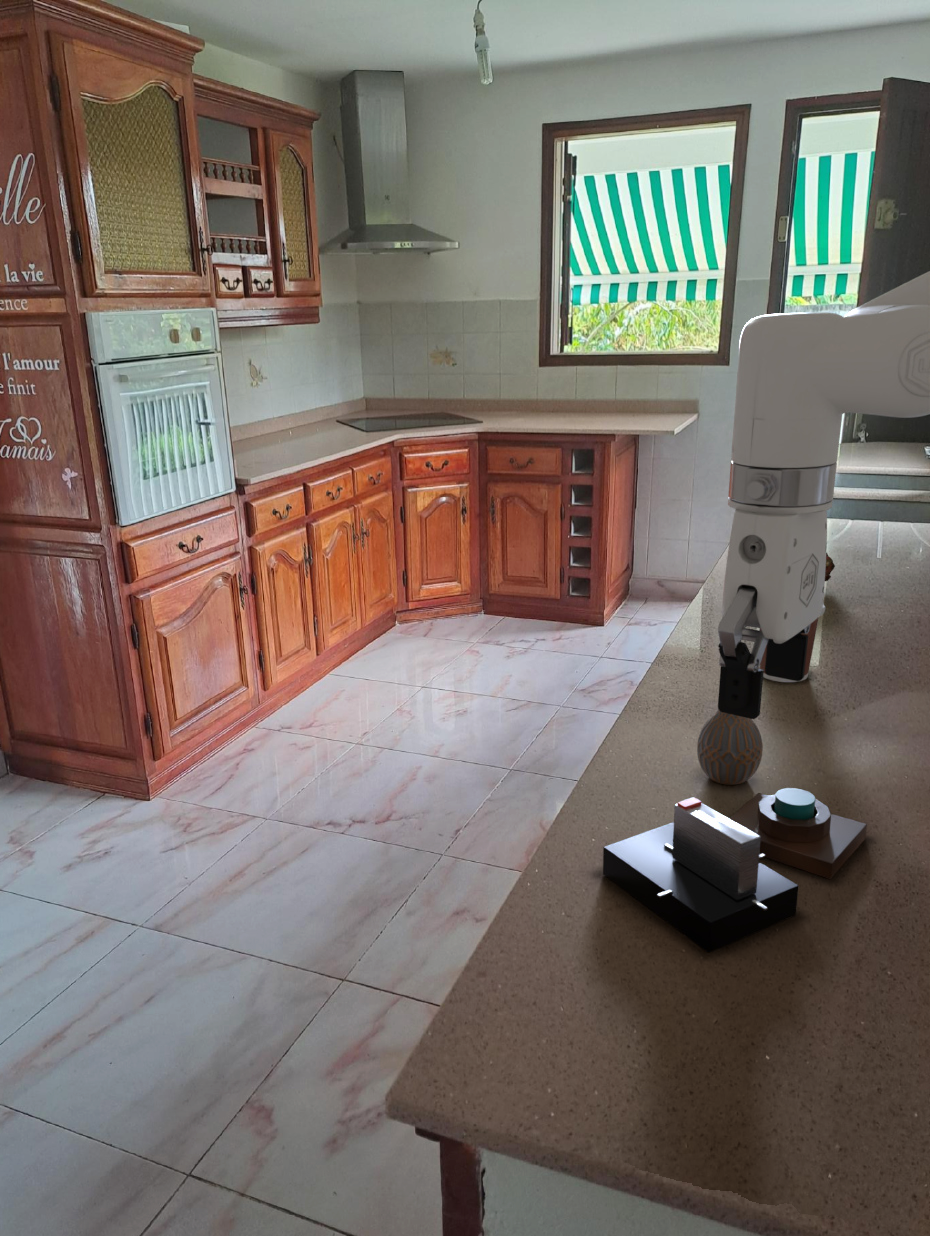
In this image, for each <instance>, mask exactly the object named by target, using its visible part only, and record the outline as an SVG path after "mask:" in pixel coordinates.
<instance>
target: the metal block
mask: <svg viewBox="0 0 930 1236" xmlns="http://www.w3.org/2000/svg"><path fill="white" fill-rule="evenodd" d="M729 818H730V817H728V816H726V815H723V814H722V813H720V812H718V811H717V810H715V809H713V808H711V807H710V806H708V805H706V804H704V803H703V802H702V801H701V800H700V799H698V798H696V797H694V796H693V797H690V798H687V799H684V800H681V801H678V802H676V803H675V804H674V810H673V822H674V831H673V854H672V858H673V859H674V860H676V861H677V862H679V863H680V864H682V865H684V866H685V867H687V868H688V869H690V870H691V871H693V872H694V873H696V874H697V875H699V876H700V877H702V878H703V879H705V880H706V881H708V882H709V883H711V884H712V885H714V886H715V887H717V888H718V889H720V890H722V891H723V892H725V893H726V894H728V895H729V896H731V897H732V898H734V899H735V900H737V901H738V900H740V899H743V898H745V897H748V896H750V895H753V894H755V893H756V890H757V877H758V865H759V862H760V859H759V852H760V840H761V836H759V835H757V834H756V833H754V832H752V831H750V830H749V829H747V828H745V827H743V826H741V825H740V824H738V823H736V822H734V821H733V820H731V819H729Z"/></svg>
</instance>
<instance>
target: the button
mask: <svg viewBox="0 0 930 1236" xmlns="http://www.w3.org/2000/svg"><path fill="white" fill-rule="evenodd" d="M775 794H776V796H775V808H774V811H775V813H776V814H778V815H779V816H781V817H785V818H788V819H793V820H807V819H811V818H813V816H814V809H815V799H816V796H815V795H814V794H813V793H811V791H808V790H805V789H800V788H797V787H796V788H795V787H786V788H781V789H779V790H778V791H776V792H775Z"/></svg>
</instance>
